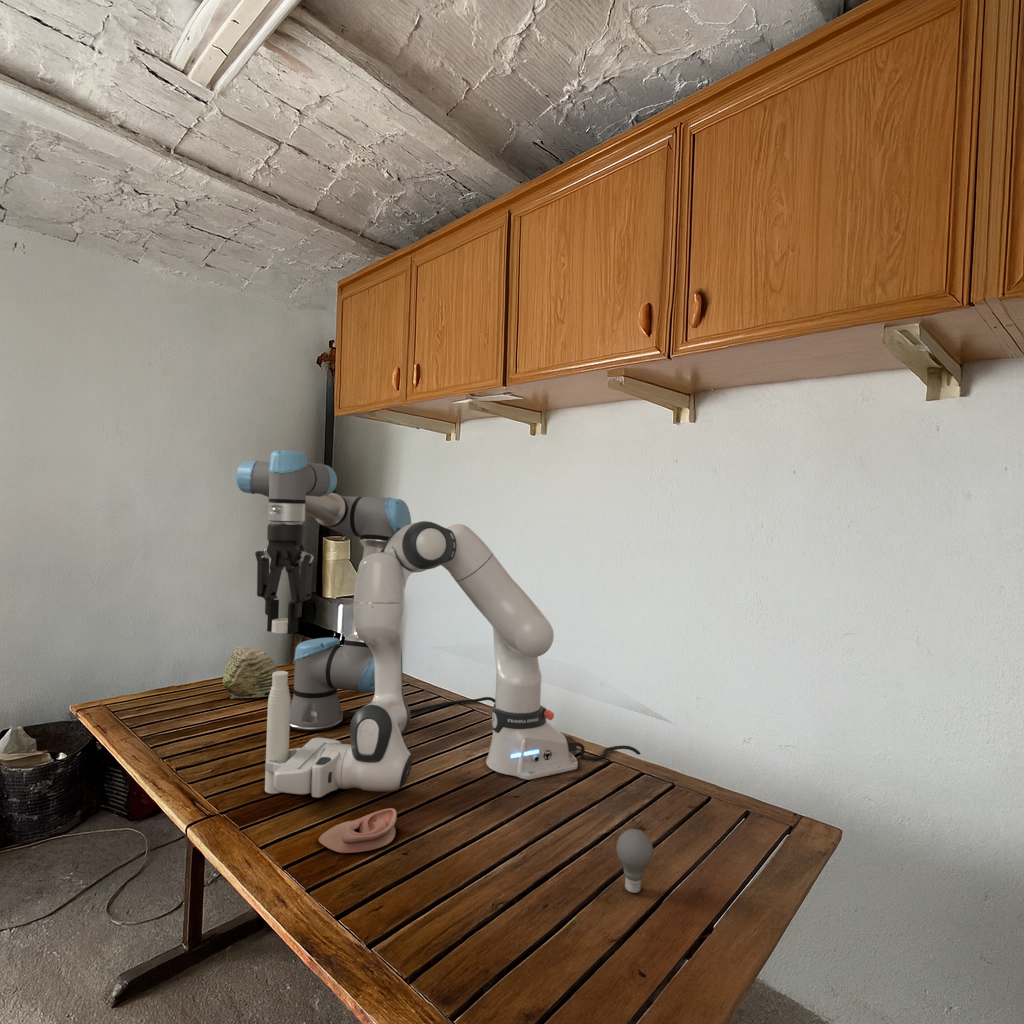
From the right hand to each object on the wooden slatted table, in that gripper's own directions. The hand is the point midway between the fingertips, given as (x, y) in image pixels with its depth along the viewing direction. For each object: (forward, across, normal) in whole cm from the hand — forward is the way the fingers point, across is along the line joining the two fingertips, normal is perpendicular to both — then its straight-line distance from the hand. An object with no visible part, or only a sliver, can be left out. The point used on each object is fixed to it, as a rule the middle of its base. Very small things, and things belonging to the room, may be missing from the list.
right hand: (273, 759), depth 136 cm
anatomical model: (-25, +16, +6) cm, 30 cm away
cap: (-1, 0, -30) cm, 30 cm away
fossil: (+35, -58, +6) cm, 68 cm away
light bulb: (-75, +24, +6) cm, 79 cm away
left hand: (-1, 0, -28) cm, 28 cm away
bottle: (-1, 0, +6) cm, 6 cm away
